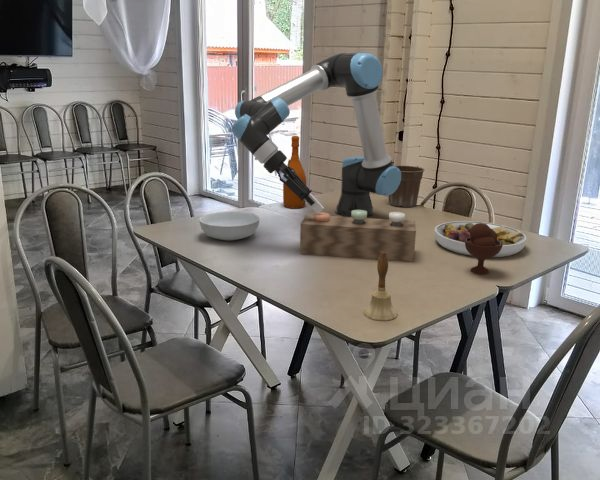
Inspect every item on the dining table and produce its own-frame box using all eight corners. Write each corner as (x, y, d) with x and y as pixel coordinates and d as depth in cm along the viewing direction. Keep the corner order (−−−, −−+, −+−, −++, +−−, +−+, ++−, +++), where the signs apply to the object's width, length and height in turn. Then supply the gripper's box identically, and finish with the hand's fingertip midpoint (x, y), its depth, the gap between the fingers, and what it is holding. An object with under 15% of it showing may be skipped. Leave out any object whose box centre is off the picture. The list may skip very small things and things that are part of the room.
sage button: (350, 231, 183) (350, 213, 181) (351, 227, 187) (352, 209, 186) (365, 232, 182) (366, 214, 180) (366, 228, 187) (367, 210, 185)
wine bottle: (306, 204, 249) (308, 134, 240) (304, 209, 240) (306, 137, 231) (284, 203, 250) (285, 134, 241) (281, 208, 241) (282, 136, 232)
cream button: (387, 233, 181) (389, 215, 179) (388, 229, 186) (389, 211, 184) (403, 234, 180) (405, 216, 178) (403, 230, 185) (405, 212, 183)
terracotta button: (312, 233, 185) (313, 215, 183) (315, 229, 190) (315, 211, 188) (328, 234, 184) (328, 216, 183) (329, 230, 189) (330, 212, 187)
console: (300, 253, 184) (300, 223, 181) (305, 242, 195) (306, 214, 192) (413, 261, 178) (415, 231, 176) (412, 250, 190) (415, 221, 187)
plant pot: (401, 198, 263) (403, 163, 258) (429, 205, 251) (432, 169, 246) (376, 203, 253) (378, 167, 248) (404, 210, 241) (407, 172, 236)
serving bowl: (252, 227, 213) (251, 209, 211) (266, 243, 194) (266, 224, 192) (196, 231, 207) (195, 212, 205) (204, 248, 188) (204, 228, 186)
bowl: (452, 229, 216) (454, 209, 214) (534, 244, 200) (537, 222, 197) (419, 248, 193) (421, 226, 190) (509, 267, 176) (513, 243, 174)
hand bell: (359, 317, 139) (363, 255, 134) (368, 304, 146) (371, 245, 141) (393, 323, 136) (398, 260, 131) (400, 310, 143) (405, 249, 138)
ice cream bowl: (494, 280, 164) (500, 230, 160) (456, 272, 170) (461, 224, 165) (503, 270, 173) (509, 222, 168) (466, 263, 178) (471, 216, 174)
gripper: (267, 161, 190) (315, 213, 192) (257, 168, 178) (309, 223, 180) (283, 146, 188) (331, 199, 190) (274, 151, 175) (326, 208, 178)
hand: (320, 210), depth 185 cm, fingers closed
